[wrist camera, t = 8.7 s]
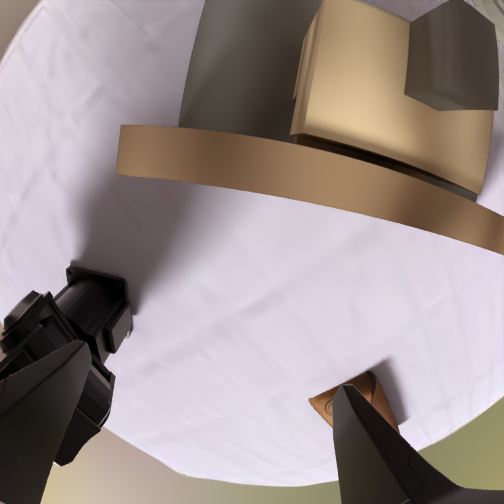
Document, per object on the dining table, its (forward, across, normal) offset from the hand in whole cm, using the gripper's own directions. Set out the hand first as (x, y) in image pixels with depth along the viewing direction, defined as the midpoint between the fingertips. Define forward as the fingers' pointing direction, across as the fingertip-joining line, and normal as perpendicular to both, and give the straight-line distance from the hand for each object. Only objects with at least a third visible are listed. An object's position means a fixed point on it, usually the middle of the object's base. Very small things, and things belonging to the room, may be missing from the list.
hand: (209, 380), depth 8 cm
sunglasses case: (+14, -19, +21) cm, 31 cm away
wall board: (+13, -7, -12) cm, 19 cm away
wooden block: (+12, -7, -11) cm, 18 cm away
